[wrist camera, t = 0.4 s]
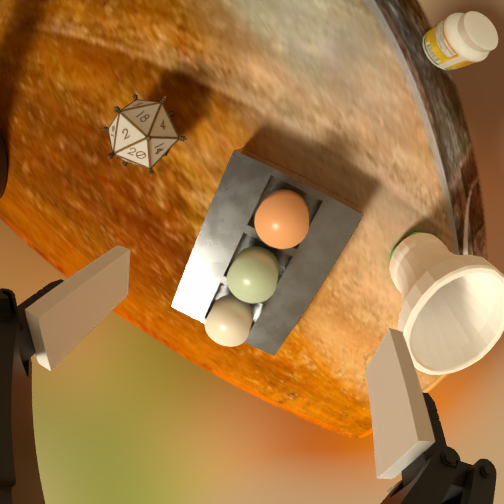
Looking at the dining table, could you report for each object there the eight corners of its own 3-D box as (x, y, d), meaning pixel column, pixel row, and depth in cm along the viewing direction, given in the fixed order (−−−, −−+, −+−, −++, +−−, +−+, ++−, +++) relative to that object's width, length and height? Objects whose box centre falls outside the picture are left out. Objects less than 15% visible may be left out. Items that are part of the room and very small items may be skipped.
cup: (430, 308, 35) (469, 382, 22) (359, 287, 36) (379, 365, 23) (467, 232, 31) (531, 285, 18) (394, 201, 31) (445, 245, 18)
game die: (185, 127, 36) (212, 136, 28) (139, 177, 36) (152, 201, 28) (137, 79, 30) (149, 72, 22) (87, 132, 30) (82, 143, 23)
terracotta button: (251, 224, 31) (245, 234, 28) (272, 181, 29) (268, 186, 26) (295, 245, 31) (293, 257, 28) (317, 203, 29) (318, 211, 26)
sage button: (227, 275, 33) (219, 289, 30) (244, 238, 31) (238, 249, 29) (267, 295, 33) (263, 310, 31) (287, 259, 32) (285, 272, 29)
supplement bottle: (417, 57, 25) (453, 36, 16) (425, 22, 23) (459, -7, 14) (456, 79, 25) (500, 68, 16) (464, 43, 22) (505, 25, 14)
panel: (182, 291, 40) (171, 306, 37) (242, 148, 32) (234, 150, 29) (277, 336, 41) (274, 355, 37) (357, 205, 32) (363, 215, 29)
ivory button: (207, 318, 36) (199, 334, 33) (221, 287, 34) (213, 302, 31) (243, 335, 36) (238, 352, 33) (260, 306, 34) (256, 322, 31)
